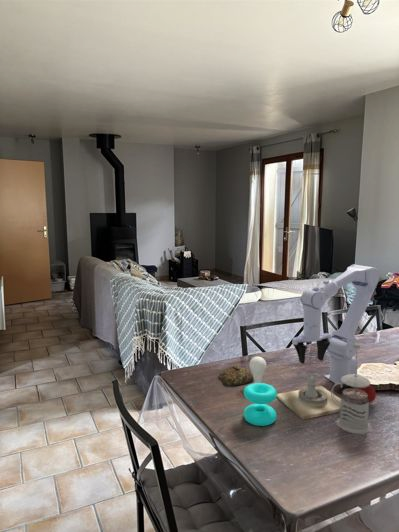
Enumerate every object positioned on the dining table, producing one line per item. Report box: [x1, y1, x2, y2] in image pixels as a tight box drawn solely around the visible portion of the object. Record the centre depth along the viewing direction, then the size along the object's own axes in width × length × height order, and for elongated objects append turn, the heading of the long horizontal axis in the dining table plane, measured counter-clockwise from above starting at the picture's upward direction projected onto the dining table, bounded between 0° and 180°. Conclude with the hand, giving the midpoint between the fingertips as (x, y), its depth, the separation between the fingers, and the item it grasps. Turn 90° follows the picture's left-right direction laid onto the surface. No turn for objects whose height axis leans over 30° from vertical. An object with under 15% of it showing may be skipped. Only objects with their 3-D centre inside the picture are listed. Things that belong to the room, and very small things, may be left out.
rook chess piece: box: [305, 374, 318, 399], centre depth 134 cm, size 4×4×8 cm
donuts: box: [243, 382, 278, 427], centre depth 123 cm, size 10×10×10 cm
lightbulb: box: [248, 356, 267, 383], centre depth 146 cm, size 6×6×11 cm
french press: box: [330, 343, 372, 435], centre depth 119 cm, size 10×12×25 cm
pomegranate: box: [356, 384, 377, 404], centre depth 132 cm, size 6×6×8 cm
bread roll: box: [218, 365, 254, 387], centre depth 154 cm, size 13×12×5 cm
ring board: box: [276, 385, 352, 420], centre depth 133 cm, size 18×16×3 cm
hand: (311, 361), depth 144 cm, fingers open, 7 cm apart
